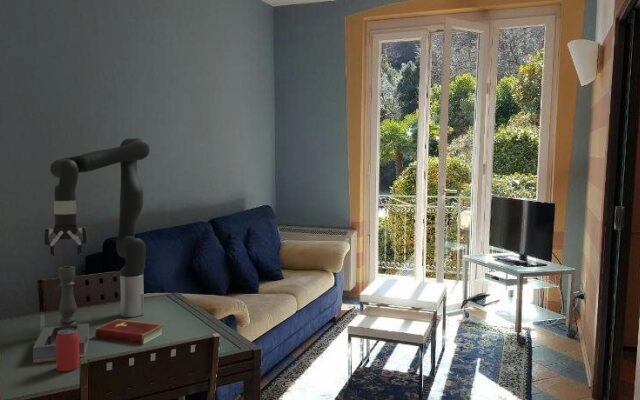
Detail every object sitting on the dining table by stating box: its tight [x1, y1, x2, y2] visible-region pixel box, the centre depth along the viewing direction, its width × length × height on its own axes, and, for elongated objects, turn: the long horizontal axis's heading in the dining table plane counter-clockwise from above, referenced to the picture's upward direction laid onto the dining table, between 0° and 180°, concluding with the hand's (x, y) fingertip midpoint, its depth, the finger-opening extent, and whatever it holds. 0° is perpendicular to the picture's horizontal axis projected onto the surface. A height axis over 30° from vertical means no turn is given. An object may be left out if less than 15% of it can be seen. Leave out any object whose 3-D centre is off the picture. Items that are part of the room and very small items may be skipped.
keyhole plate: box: [32, 322, 90, 363], centre depth 173 cm, size 15×21×5 cm
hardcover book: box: [94, 318, 164, 345], centre depth 187 cm, size 12×21×4 cm, turn 72°
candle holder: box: [57, 265, 78, 326], centre depth 189 cm, size 6×6×25 cm
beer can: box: [55, 328, 80, 372], centre depth 156 cm, size 7×7×12 cm
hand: (66, 255), depth 188 cm, fingers open, 8 cm apart
